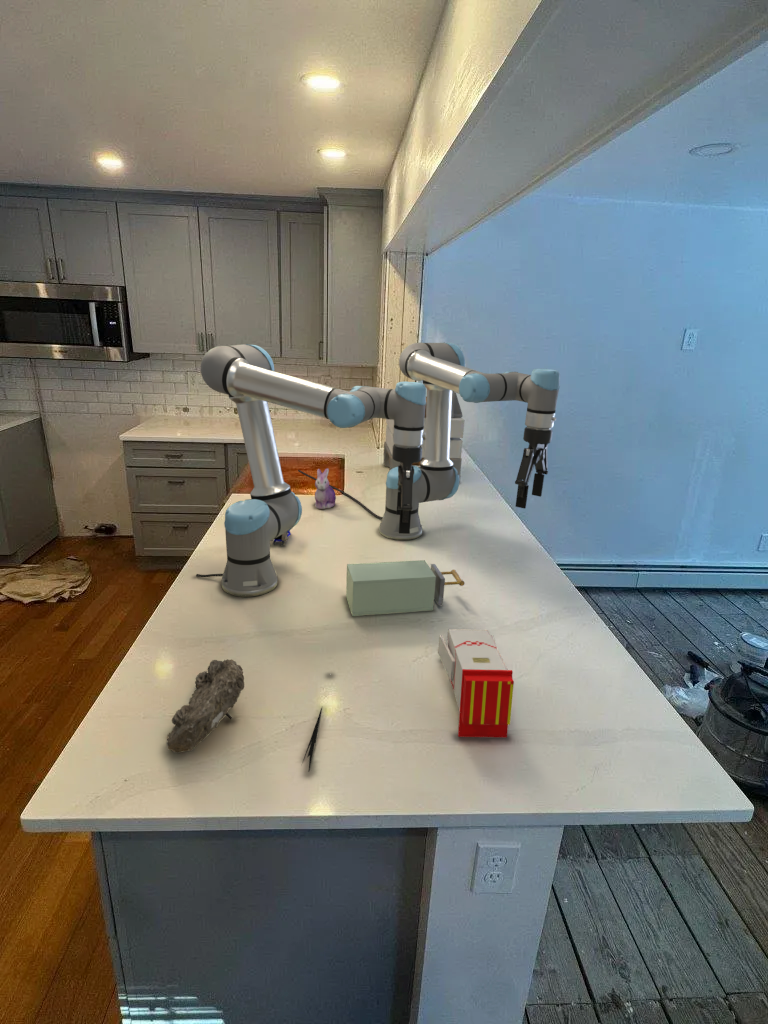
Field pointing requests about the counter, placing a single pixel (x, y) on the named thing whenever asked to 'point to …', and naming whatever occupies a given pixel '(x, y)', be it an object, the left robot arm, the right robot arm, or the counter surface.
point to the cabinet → (390, 587)
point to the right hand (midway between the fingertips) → (528, 501)
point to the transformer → (455, 436)
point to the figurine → (324, 491)
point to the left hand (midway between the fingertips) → (402, 523)
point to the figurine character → (282, 538)
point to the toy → (478, 682)
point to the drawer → (443, 583)
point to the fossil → (206, 705)
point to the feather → (313, 740)
